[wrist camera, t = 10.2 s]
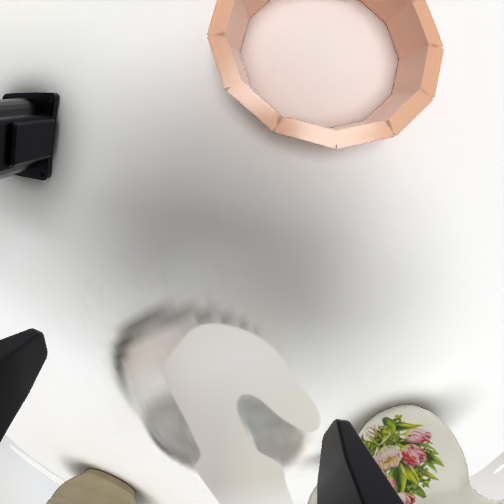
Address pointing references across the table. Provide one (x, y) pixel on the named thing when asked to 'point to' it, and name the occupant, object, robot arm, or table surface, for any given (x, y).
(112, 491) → the planter bowl
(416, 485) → the pitcher
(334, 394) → the table surface
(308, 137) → the ring
